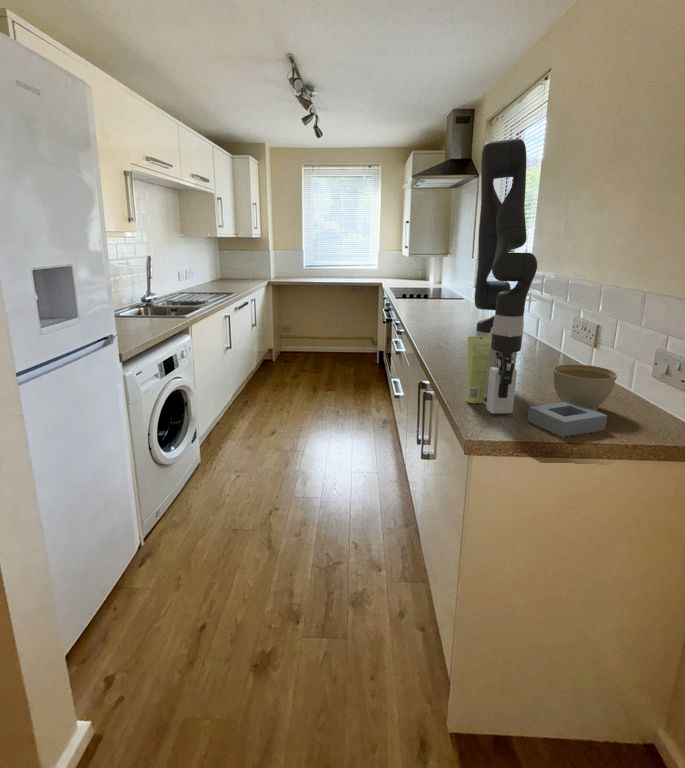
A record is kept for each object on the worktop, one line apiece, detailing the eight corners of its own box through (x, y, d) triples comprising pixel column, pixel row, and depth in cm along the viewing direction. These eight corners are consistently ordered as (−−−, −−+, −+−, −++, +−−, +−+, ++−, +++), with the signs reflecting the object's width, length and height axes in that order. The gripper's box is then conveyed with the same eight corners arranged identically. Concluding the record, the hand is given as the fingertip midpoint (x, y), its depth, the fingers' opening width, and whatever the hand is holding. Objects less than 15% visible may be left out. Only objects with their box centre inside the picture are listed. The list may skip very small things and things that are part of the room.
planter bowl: (548, 396, 150) (552, 361, 147) (606, 402, 145) (613, 367, 141) (548, 412, 136) (553, 374, 133) (614, 420, 130) (621, 381, 127)
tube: (471, 397, 148) (477, 333, 143) (487, 401, 145) (493, 336, 139) (462, 401, 144) (467, 336, 139) (478, 405, 141) (484, 338, 135)
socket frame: (527, 421, 129) (529, 406, 128) (568, 414, 134) (570, 401, 133) (562, 437, 118) (564, 422, 117) (604, 430, 123) (607, 415, 122)
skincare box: (506, 408, 136) (511, 365, 132) (513, 413, 131) (518, 370, 128) (485, 408, 135) (489, 366, 131) (491, 414, 131) (495, 370, 127)
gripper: (488, 326, 134) (483, 386, 139) (496, 337, 120) (490, 402, 125) (517, 327, 133) (510, 387, 138) (528, 338, 119) (520, 403, 124)
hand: (500, 394), depth 132 cm, fingers closed on skincare box, 5 cm apart
